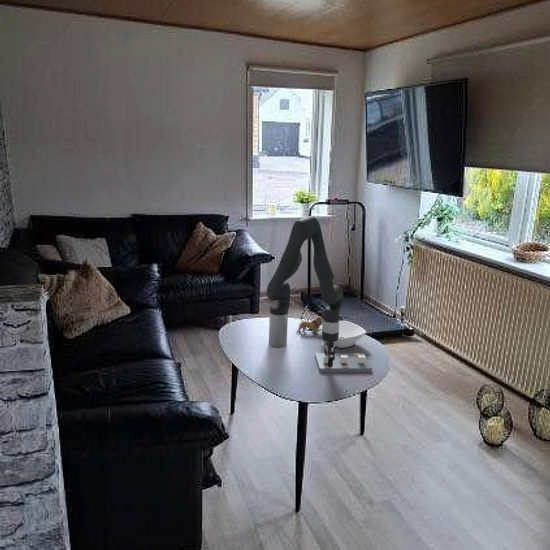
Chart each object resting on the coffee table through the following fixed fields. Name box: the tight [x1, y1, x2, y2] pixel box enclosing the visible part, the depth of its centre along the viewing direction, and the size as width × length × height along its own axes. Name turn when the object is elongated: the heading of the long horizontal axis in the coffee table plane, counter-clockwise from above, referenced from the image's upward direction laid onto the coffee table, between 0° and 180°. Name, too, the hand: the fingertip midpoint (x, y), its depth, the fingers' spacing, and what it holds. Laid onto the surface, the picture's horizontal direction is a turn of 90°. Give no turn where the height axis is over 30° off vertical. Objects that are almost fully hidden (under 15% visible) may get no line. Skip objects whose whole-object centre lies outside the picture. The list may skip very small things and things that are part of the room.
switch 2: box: [340, 355, 348, 363], centre depth 230 cm, size 2×3×3 cm
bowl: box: [318, 320, 367, 349], centre depth 254 cm, size 21×21×9 cm
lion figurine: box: [296, 316, 323, 335], centre depth 267 cm, size 15×5×9 cm, turn 104°
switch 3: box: [357, 355, 366, 363], centre depth 230 cm, size 2×3×3 cm
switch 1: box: [323, 355, 331, 363], centre depth 229 cm, size 2×3×3 cm
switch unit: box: [314, 352, 373, 373], centre depth 233 cm, size 16×24×2 cm, turn 94°
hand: (328, 362), depth 227 cm, fingers open, 8 cm apart
